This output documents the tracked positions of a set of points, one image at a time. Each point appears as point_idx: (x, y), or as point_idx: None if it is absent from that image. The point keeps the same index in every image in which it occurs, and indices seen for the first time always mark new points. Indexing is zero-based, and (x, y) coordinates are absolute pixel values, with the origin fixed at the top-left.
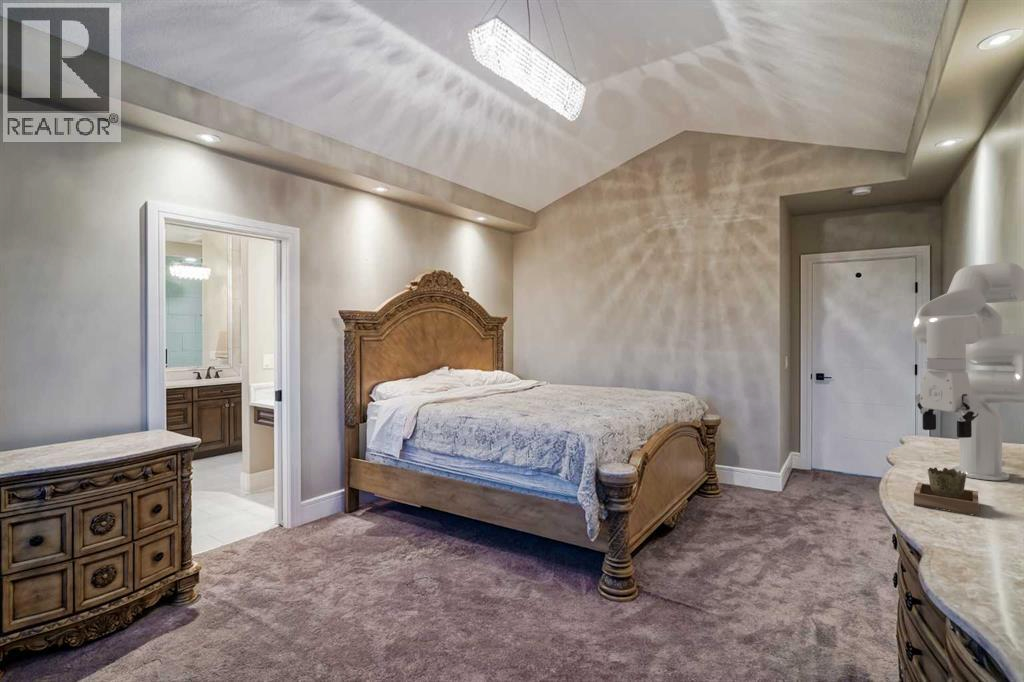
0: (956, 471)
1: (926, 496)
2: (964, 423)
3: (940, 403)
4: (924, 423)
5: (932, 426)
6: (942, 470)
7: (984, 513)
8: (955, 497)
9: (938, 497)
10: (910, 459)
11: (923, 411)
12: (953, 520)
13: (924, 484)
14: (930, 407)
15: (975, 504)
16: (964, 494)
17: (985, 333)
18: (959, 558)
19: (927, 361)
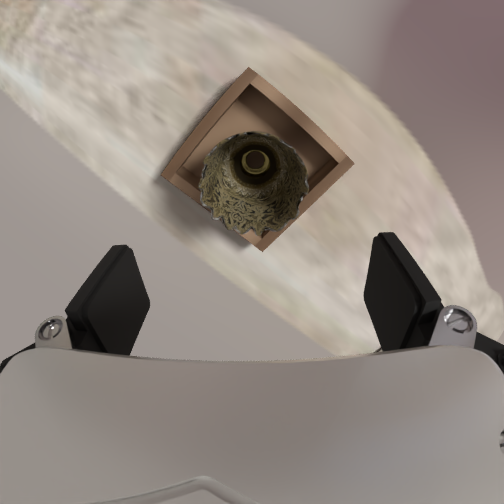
0: (270, 230)
1: (228, 89)
2: (67, 318)
3: (98, 444)
4: (395, 256)
5: (371, 290)
6: (298, 205)
7: None
8: (228, 167)
9: (210, 110)
10: (491, 320)
11: (451, 330)
12: (140, 91)
13: (334, 167)
14: (321, 370)
15: (164, 169)
16: None
17: None
18: (10, 25)
19: None
